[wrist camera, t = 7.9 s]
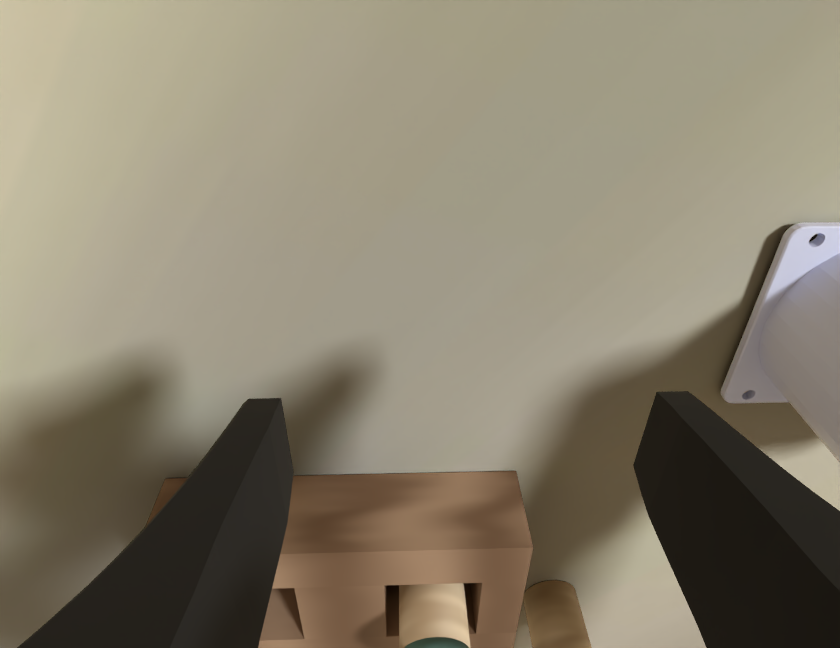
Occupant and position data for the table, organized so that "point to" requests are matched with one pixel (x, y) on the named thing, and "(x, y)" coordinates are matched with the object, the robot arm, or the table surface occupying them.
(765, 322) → the robot arm
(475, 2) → the table surface
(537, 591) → the peg
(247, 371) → the table surface
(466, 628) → the peg
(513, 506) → the socket block
